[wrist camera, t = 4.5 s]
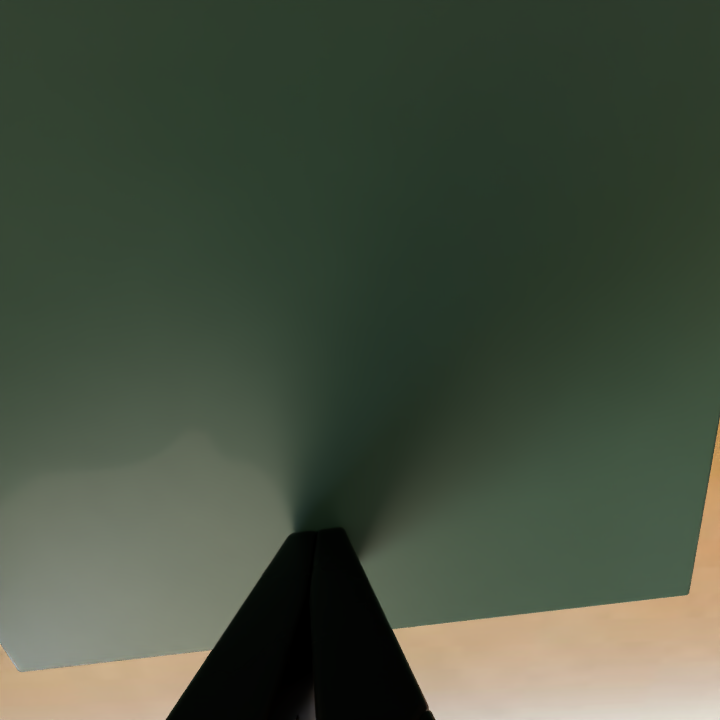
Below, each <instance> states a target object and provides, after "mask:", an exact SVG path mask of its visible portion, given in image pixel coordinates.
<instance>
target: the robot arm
mask: <svg viewBox="0 0 720 720" xmlns="http://www.w3.org/2000/svg"><path fill="white" fill-rule="evenodd" d="M166 720H435V718H434V716H433V714H432V712H431V711H429V707H428V704H427V702H426V700H425V698H424V696H423V693H422V691H421V689H420V687H419V685H418V683H417V681H416V679H415V677H414V675H413V672H412V670H411V668H410V666H409V664H408V662H407V660H406V658H405V656H404V653H403V651H402V649H401V647H400V645H399V643H398V641H397V639H396V637H395V634H394V632H393V630H392V628H391V626H390V624H389V622H388V620H387V618H386V615H385V613H384V611H383V609H382V607H381V605H380V603H379V601H378V599H377V597H376V594H375V592H374V590H373V588H372V586H371V584H370V582H369V580H368V578H367V575H366V573H365V571H364V569H363V567H362V565H361V563H360V561H359V559H358V556H357V554H356V552H355V550H354V548H353V546H352V544H351V542H350V540H349V537H348V535H347V533H346V531H345V529H344V528H342V527H335V528H327V529H321V530H319V531H318V533H316V532H315V531H313V530H311V531H303V532H295V533H291V534H290V535H289V536H288V537H287V538H286V540H285V541H284V543H283V544H282V546H281V547H280V549H279V550H278V552H277V553H276V555H275V556H274V558H273V559H272V561H271V562H270V564H269V565H268V567H267V568H266V570H265V571H264V573H263V574H262V576H261V577H260V579H259V580H258V582H257V583H256V585H255V586H254V588H253V589H252V591H251V592H250V594H249V595H248V597H247V598H246V600H245V601H244V603H243V604H242V606H241V607H240V609H239V610H238V612H237V613H236V615H235V616H234V618H233V619H232V621H231V622H230V624H229V625H228V627H227V628H226V630H225V631H224V633H223V634H222V636H221V637H220V639H219V640H218V642H217V643H216V645H215V646H214V648H213V649H212V651H211V652H210V654H209V655H208V657H207V658H206V660H205V661H204V663H203V664H202V666H201V667H200V669H199V670H198V672H197V673H196V675H195V676H194V678H193V679H192V681H191V682H190V684H189V685H188V687H187V689H186V690H185V692H184V693H183V695H182V696H181V698H180V699H179V701H178V702H177V704H176V705H175V707H174V708H173V710H172V711H171V713H170V714H169V716H168V717H167V719H166Z"/></svg>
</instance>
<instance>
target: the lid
mask: <svg viewBox="0 0 720 720" xmlns="http://www.w3.org/2000/svg"><path fill="white" fill-rule="evenodd" d="M719 419H720V0H0V644H1V645H2V647H3V648H4V650H5V651H6V653H7V655H8V656H9V658H10V659H11V661H12V662H13V664H14V665H15V667H16V668H17V670H18V671H20V672H26V671H34V670H43V669H52V668H60V667H69V666H78V665H86V664H95V663H103V662H112V661H121V660H129V659H138V658H147V657H155V656H164V655H173V654H181V653H190V652H199V651H207V650H212V649H213V648H214V646H215V645H216V643H217V642H218V640H219V639H220V637H221V636H222V634H223V633H224V631H225V630H226V628H227V627H228V625H229V624H230V622H231V621H232V619H233V618H234V616H235V615H236V613H237V612H238V610H239V609H240V607H241V606H242V604H243V603H244V601H245V600H246V598H247V597H248V595H249V594H250V592H251V591H252V589H253V588H254V586H255V585H256V583H257V582H258V580H259V579H260V577H261V576H262V574H263V573H264V571H265V570H266V568H267V567H268V565H269V564H270V562H271V561H272V559H273V558H274V556H275V555H276V553H277V552H278V550H279V549H280V547H281V546H282V544H283V543H284V541H285V540H286V538H287V537H288V536H289V535H290V534H291V533H295V532H303V531H311V530H313V531H315V532H316V533H318V531H319V530H321V529H327V528H335V527H342V528H344V529H345V531H346V533H347V535H348V537H349V540H350V542H351V544H352V546H353V548H354V550H355V552H356V554H357V556H358V559H359V561H360V563H361V565H362V567H363V569H364V571H365V573H366V575H367V578H368V580H369V582H370V584H371V586H372V588H373V590H374V592H375V594H376V597H377V599H378V601H379V603H380V605H381V607H382V609H383V611H384V613H385V615H386V618H387V620H388V622H389V624H390V626H391V628H392V629H398V628H406V627H415V626H424V625H432V624H441V623H450V622H458V621H467V620H476V619H484V618H493V617H501V616H510V615H519V614H527V613H536V612H545V611H553V610H562V609H571V608H579V607H588V606H597V605H605V604H614V603H623V602H631V601H640V600H649V599H657V598H666V597H675V596H683V595H687V594H689V590H690V584H691V579H692V573H693V567H694V562H695V556H696V550H697V544H698V539H699V533H700V527H701V522H702V516H703V510H704V504H705V499H706V493H707V487H708V482H709V476H710V470H711V465H712V459H713V453H714V447H715V442H716V436H717V430H718V425H719Z"/></svg>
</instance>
